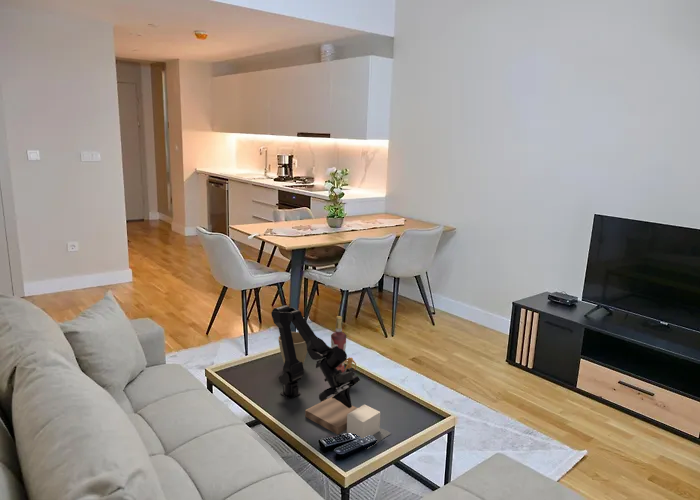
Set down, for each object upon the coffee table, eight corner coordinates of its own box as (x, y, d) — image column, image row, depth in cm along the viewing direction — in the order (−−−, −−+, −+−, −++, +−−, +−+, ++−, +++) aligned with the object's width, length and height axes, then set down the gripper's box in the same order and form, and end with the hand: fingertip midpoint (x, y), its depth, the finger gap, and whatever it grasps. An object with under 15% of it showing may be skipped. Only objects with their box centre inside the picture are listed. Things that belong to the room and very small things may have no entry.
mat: (339, 433, 194) (339, 433, 194) (363, 419, 204) (363, 419, 204) (367, 449, 185) (367, 448, 185) (391, 433, 195) (391, 433, 195)
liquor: (347, 374, 242) (349, 318, 236) (332, 376, 240) (334, 320, 234) (342, 368, 249) (343, 313, 243) (328, 370, 247) (329, 315, 240)
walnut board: (305, 416, 205) (305, 410, 204) (332, 402, 217) (333, 396, 216) (337, 434, 193) (337, 427, 193) (365, 418, 205) (365, 411, 204)
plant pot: (315, 369, 247) (315, 338, 243) (290, 378, 237) (290, 346, 234) (297, 359, 258) (297, 329, 254) (272, 367, 248) (272, 336, 245)
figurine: (336, 381, 235) (337, 357, 233) (344, 377, 240) (345, 353, 237) (350, 387, 230) (351, 362, 228) (358, 382, 235) (359, 358, 232)
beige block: (347, 414, 193) (363, 422, 188) (364, 404, 200) (380, 412, 195) (346, 433, 194) (362, 441, 189) (363, 422, 202) (379, 430, 197)
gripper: (324, 371, 191) (345, 408, 186) (357, 356, 205) (377, 391, 200) (309, 383, 198) (329, 419, 193) (342, 368, 212) (361, 402, 207)
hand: (350, 407), depth 198 cm, fingers closed
